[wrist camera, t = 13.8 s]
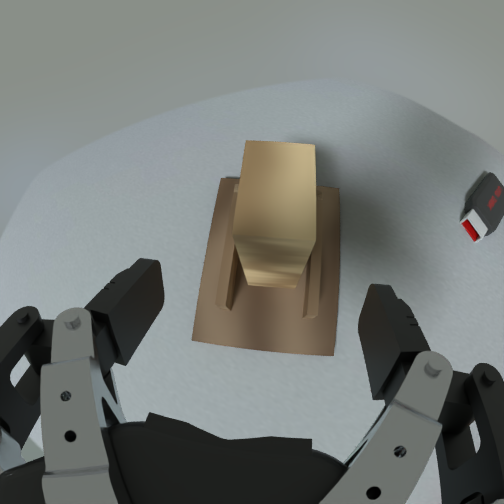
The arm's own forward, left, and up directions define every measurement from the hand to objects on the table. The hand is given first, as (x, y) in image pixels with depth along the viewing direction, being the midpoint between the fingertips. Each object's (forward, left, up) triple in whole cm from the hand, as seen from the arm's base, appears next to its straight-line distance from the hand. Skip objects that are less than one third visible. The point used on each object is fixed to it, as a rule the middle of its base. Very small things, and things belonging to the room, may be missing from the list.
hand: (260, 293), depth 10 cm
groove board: (0, -6, -14) cm, 15 cm away
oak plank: (0, -6, -13) cm, 14 cm away
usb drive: (-28, -15, -15) cm, 35 cm away
